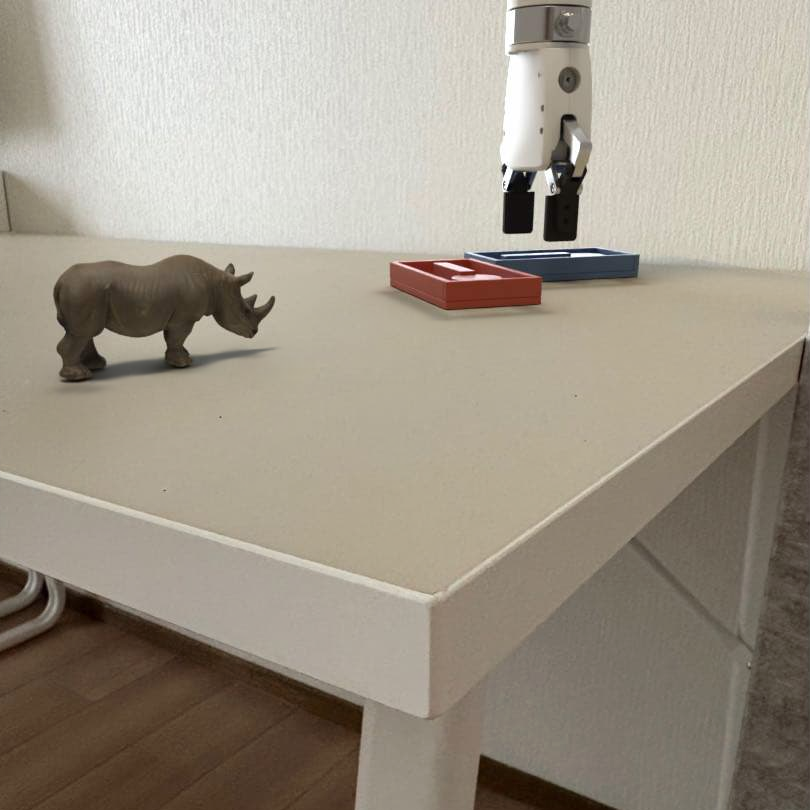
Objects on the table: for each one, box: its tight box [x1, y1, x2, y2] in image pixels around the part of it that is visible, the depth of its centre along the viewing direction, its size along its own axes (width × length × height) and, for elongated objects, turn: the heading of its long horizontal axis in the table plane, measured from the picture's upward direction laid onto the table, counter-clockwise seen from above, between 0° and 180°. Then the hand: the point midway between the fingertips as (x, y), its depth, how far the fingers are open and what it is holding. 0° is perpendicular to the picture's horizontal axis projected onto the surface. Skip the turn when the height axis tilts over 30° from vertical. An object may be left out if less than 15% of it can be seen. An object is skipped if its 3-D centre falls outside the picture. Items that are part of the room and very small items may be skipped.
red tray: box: [389, 258, 543, 310], centre depth 76 cm, size 15×8×2 cm, turn 18°
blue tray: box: [463, 246, 641, 283], centre depth 87 cm, size 15×8×2 cm, turn 108°
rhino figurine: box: [52, 253, 276, 381], centre depth 51 cm, size 4×14×6 cm, turn 126°
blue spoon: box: [501, 252, 603, 260], centre depth 87 cm, size 11×4×2 cm, turn 108°
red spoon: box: [433, 262, 502, 281], centre depth 76 cm, size 11×4×2 cm, turn 18°
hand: (537, 236), depth 86 cm, fingers open, 9 cm apart
